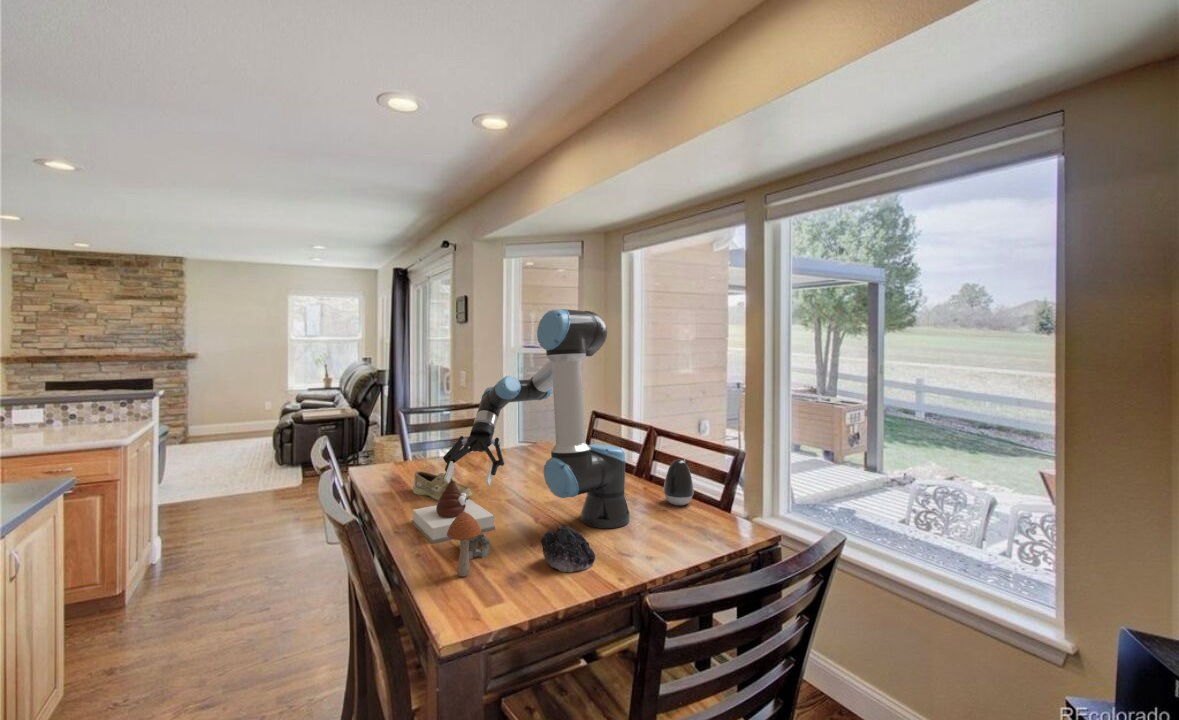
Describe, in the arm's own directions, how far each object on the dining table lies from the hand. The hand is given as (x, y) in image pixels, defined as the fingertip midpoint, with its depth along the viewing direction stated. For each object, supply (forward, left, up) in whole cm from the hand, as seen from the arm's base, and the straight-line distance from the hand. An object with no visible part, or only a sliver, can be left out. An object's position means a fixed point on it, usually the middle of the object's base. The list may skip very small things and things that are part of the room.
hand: (466, 482), depth 161 cm
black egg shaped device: (-29, -65, -10) cm, 72 cm away
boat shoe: (+23, 0, -11) cm, 26 cm away
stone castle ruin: (-27, +9, -11) cm, 30 cm away
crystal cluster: (-46, -8, -11) cm, 48 cm away
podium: (-7, +7, -10) cm, 14 cm away
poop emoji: (-7, +7, -6) cm, 12 cm away
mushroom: (-38, +16, -10) cm, 42 cm away
